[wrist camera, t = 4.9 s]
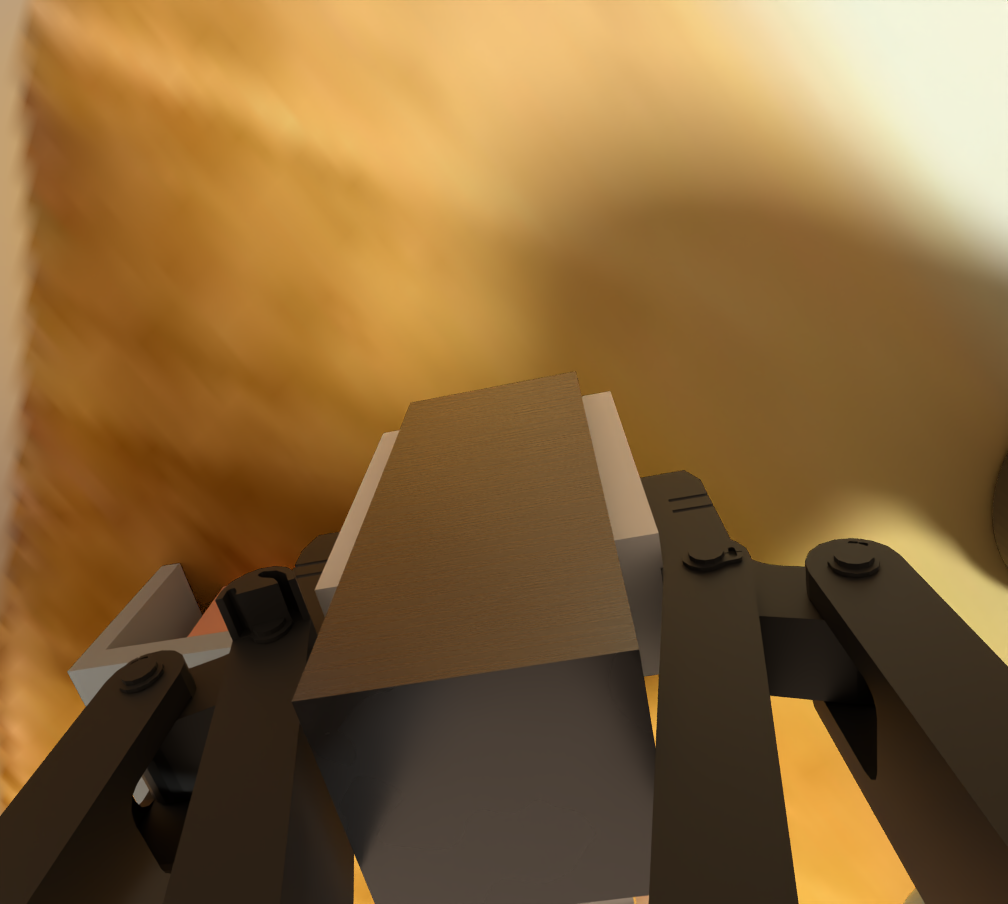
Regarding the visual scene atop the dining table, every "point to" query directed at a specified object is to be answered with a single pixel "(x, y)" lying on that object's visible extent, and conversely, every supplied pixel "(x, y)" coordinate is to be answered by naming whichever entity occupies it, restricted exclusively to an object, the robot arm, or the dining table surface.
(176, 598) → the cubby
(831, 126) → the dining table surface
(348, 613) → the grey block with rod
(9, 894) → the robot arm
